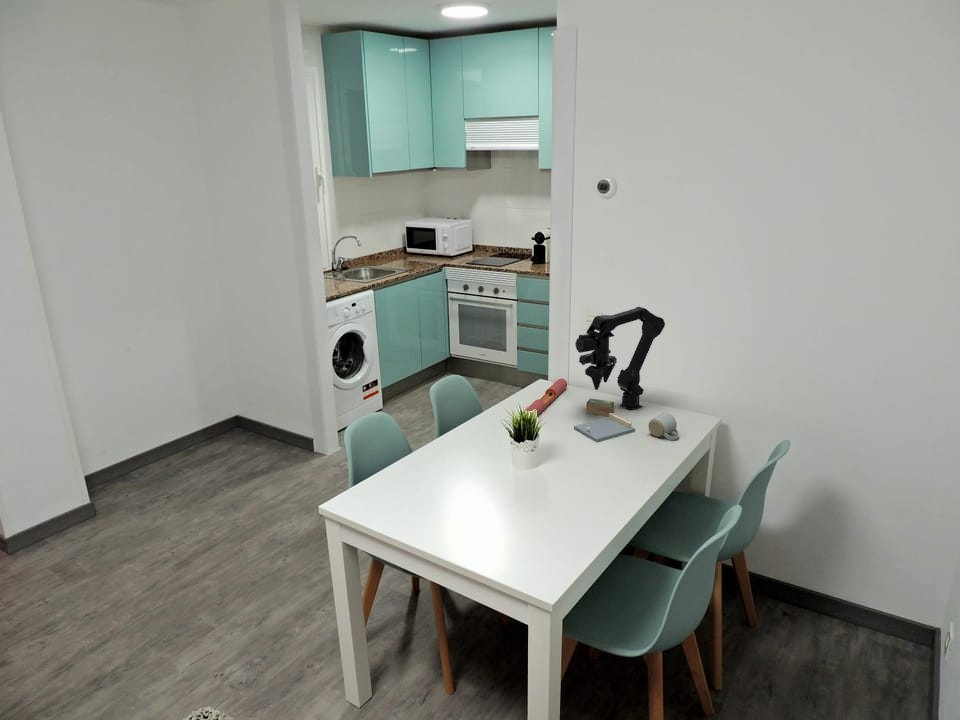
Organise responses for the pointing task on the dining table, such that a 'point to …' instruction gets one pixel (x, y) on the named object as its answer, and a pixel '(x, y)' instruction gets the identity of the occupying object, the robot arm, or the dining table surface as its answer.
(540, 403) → the blood vessel
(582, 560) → the dining table surface
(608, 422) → the grey flat panel
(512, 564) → the dining table surface
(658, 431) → the ceramic mug
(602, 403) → the frame
